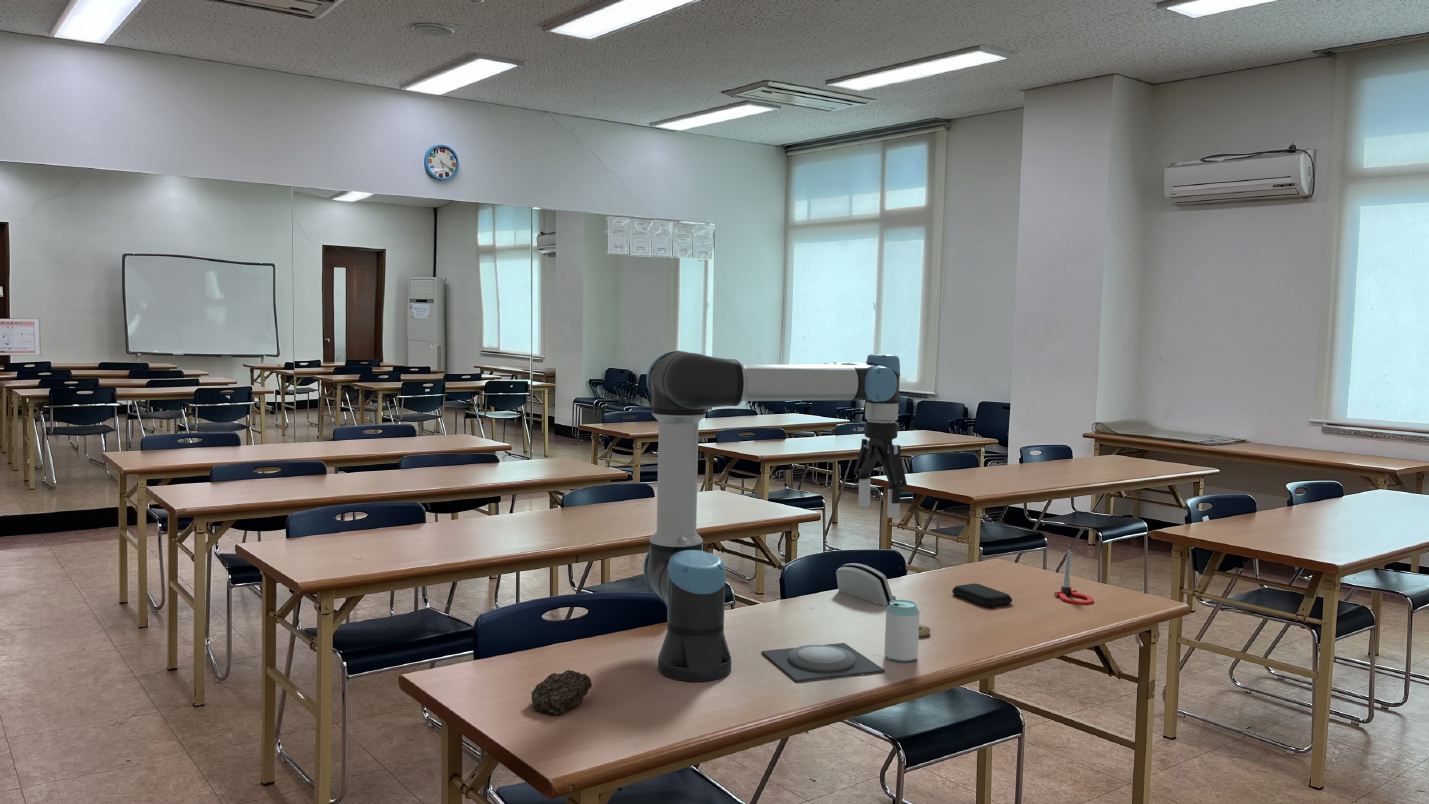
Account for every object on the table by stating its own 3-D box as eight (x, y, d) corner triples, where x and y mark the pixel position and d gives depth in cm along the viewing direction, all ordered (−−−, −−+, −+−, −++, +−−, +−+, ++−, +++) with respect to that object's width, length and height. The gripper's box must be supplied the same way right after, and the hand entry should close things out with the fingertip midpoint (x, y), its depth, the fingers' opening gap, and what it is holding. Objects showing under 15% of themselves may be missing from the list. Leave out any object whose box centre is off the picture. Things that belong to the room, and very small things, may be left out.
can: (905, 665, 208) (908, 609, 207) (878, 657, 213) (880, 602, 212) (923, 657, 213) (926, 603, 212) (896, 649, 218) (898, 596, 217)
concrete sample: (564, 688, 191) (564, 663, 190) (600, 702, 184) (600, 676, 184) (516, 705, 182) (517, 678, 182) (553, 720, 176) (553, 692, 175)
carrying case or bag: (1018, 605, 256) (978, 591, 269) (1019, 594, 256) (979, 580, 269) (987, 610, 251) (948, 595, 264) (988, 598, 251) (949, 584, 264)
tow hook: (1100, 605, 259) (1076, 594, 267) (1104, 557, 257) (1080, 547, 266) (1074, 607, 256) (1050, 596, 264) (1078, 559, 254) (1054, 549, 263)
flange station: (796, 682, 196) (796, 673, 196) (761, 653, 213) (761, 645, 213) (884, 672, 203) (885, 663, 203) (844, 644, 220) (844, 636, 220)
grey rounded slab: (898, 602, 255) (890, 568, 252) (886, 611, 252) (878, 577, 249) (850, 588, 268) (843, 555, 265) (839, 596, 265) (831, 563, 262)
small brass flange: (909, 638, 225) (909, 633, 225) (893, 629, 232) (894, 624, 232) (936, 636, 228) (936, 630, 228) (919, 627, 234) (920, 621, 234)
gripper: (924, 426, 218) (920, 521, 220) (869, 415, 241) (866, 501, 243) (895, 426, 215) (891, 522, 217) (841, 416, 239) (839, 502, 240)
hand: (878, 511), depth 230 cm, fingers open, 13 cm apart
